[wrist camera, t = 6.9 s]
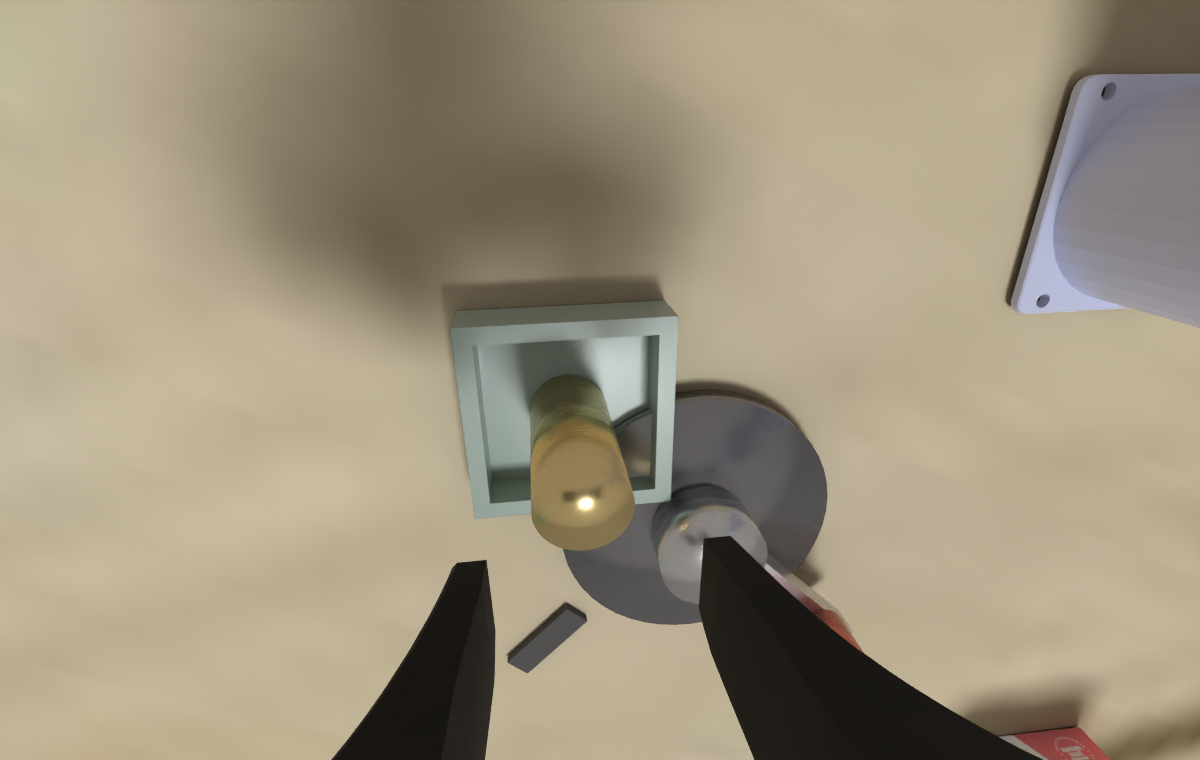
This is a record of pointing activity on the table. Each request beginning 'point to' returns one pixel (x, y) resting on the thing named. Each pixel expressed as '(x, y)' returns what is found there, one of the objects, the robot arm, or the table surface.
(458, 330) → the tray
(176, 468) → the table surface
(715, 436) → the dark gray disc
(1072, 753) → the ink cartridge box
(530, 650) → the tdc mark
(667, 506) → the crank
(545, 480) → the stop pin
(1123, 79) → the robot arm
